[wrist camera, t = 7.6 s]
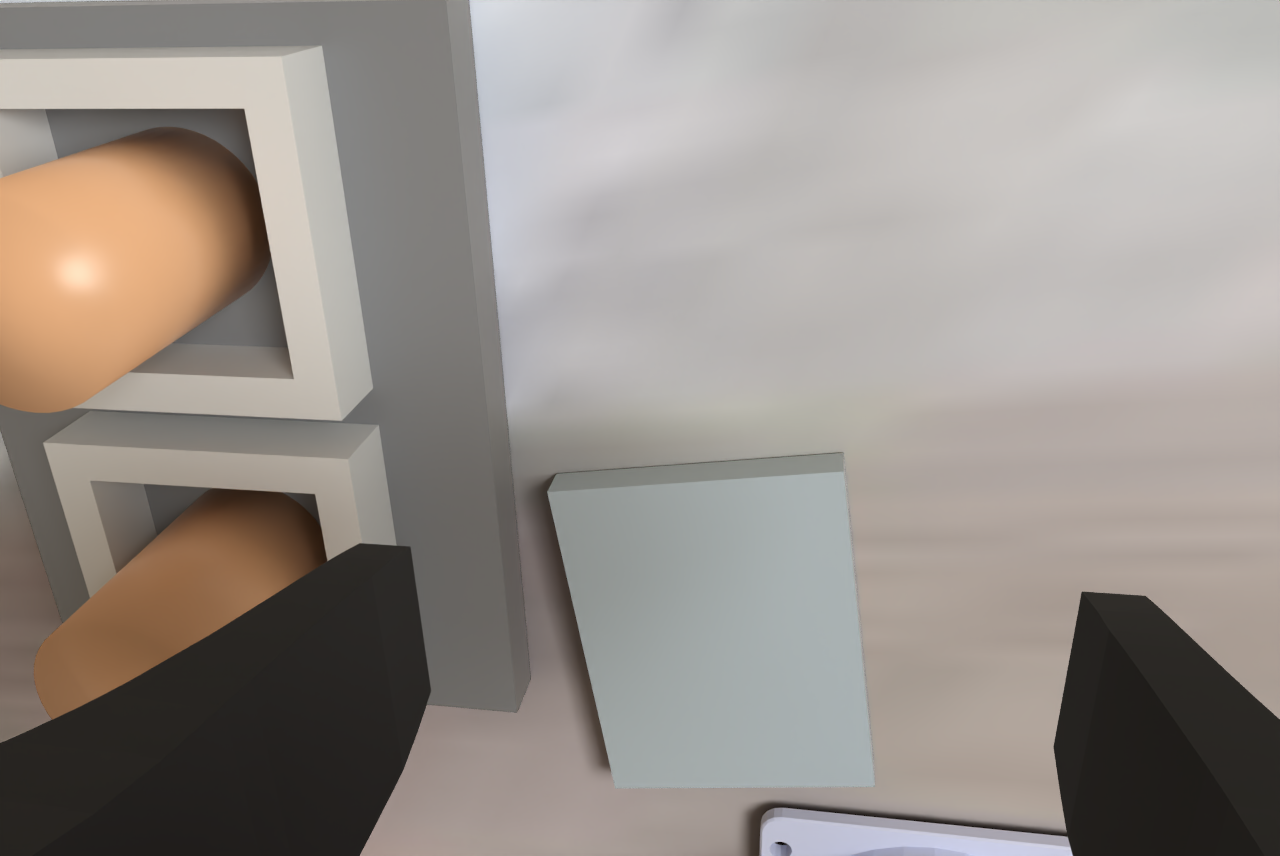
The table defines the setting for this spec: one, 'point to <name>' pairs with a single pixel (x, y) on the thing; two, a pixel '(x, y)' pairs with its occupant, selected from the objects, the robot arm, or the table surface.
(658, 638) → the lid
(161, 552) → the jaw pin
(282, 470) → the housing
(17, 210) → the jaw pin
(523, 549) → the table surface
